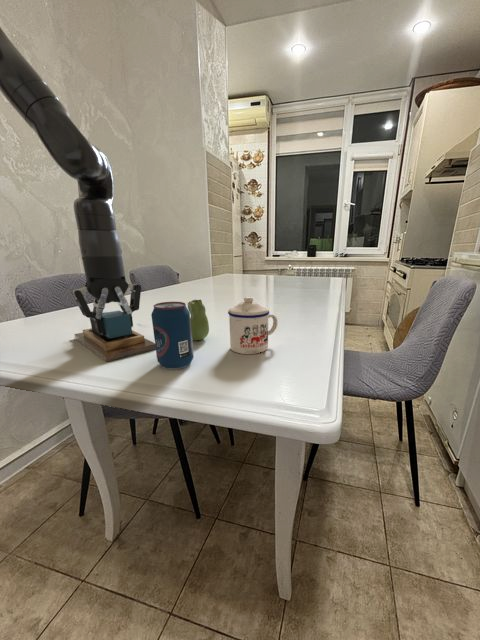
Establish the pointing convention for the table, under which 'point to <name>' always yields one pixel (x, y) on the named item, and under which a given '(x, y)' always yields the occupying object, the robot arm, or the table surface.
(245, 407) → the table surface
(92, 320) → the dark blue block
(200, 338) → the pear
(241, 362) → the table surface
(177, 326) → the soda can
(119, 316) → the teal block
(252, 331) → the teacup with lid
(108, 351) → the frame
